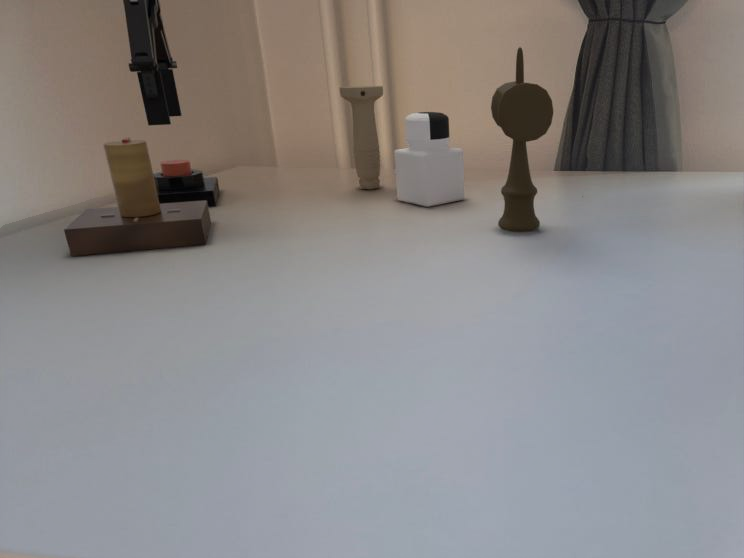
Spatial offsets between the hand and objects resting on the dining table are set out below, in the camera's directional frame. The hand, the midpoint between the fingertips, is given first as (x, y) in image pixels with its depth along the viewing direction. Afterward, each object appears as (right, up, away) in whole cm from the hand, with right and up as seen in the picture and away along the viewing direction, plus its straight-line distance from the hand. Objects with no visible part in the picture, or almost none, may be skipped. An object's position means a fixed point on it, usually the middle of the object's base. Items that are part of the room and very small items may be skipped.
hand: (166, 120), depth 96 cm
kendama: (+49, -19, -14) cm, 55 cm away
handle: (+27, -7, +12) cm, 30 cm away
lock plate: (+5, -20, -15) cm, 25 cm away
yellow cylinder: (+5, -17, -16) cm, 24 cm away
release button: (0, -7, +4) cm, 8 cm away
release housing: (0, -10, +5) cm, 11 cm away
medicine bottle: (+38, -11, +2) cm, 39 cm away
